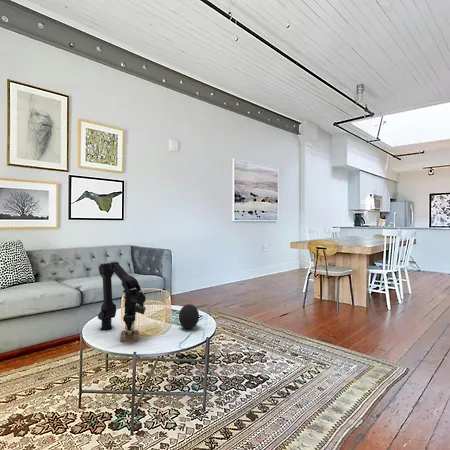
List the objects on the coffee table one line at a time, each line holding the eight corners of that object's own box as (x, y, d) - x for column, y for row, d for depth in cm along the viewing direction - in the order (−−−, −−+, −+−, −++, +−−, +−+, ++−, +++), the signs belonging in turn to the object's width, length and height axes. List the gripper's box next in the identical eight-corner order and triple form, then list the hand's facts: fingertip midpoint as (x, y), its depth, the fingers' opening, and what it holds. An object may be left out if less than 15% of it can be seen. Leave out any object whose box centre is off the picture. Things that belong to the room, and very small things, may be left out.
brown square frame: (121, 335, 186) (121, 330, 186) (138, 334, 188) (138, 329, 188) (120, 342, 177) (120, 336, 177) (138, 341, 179) (138, 335, 179)
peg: (125, 332, 184) (125, 317, 184) (134, 332, 185) (134, 316, 185) (124, 336, 179) (124, 319, 179) (134, 335, 180) (134, 319, 180)
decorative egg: (200, 325, 206) (200, 302, 205) (196, 332, 193) (197, 307, 193) (181, 324, 207) (181, 301, 206) (176, 331, 195) (176, 306, 194)
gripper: (144, 305, 175) (144, 333, 175) (145, 296, 193) (144, 322, 193) (123, 306, 172) (122, 335, 172) (125, 297, 190) (125, 323, 191)
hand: (129, 328), depth 182 cm, fingers closed on peg, 5 cm apart
